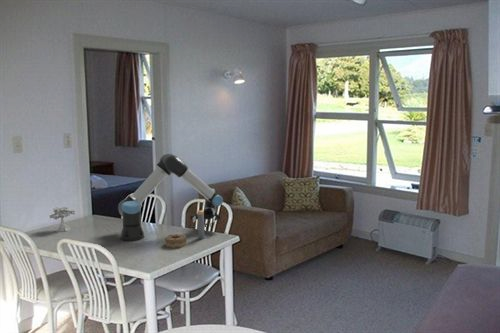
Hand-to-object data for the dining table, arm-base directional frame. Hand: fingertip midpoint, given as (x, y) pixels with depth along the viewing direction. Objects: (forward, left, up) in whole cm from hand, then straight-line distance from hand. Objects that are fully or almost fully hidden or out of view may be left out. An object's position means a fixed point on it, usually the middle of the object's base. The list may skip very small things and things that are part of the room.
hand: (203, 220), depth 322 cm
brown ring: (+14, -23, -10) cm, 29 cm away
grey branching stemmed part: (-57, -84, -10) cm, 102 cm away
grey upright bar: (+7, -4, -10) cm, 13 cm away
